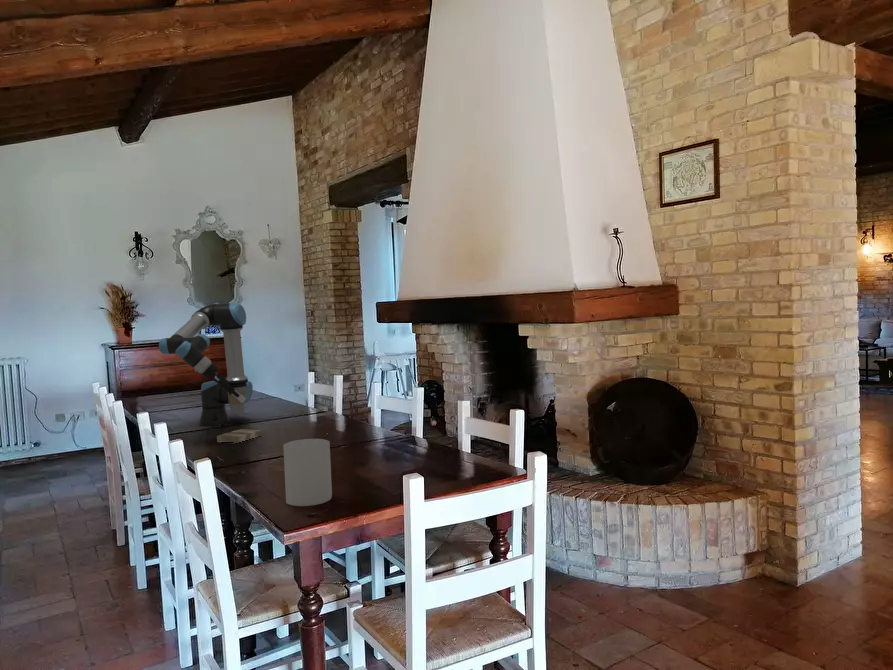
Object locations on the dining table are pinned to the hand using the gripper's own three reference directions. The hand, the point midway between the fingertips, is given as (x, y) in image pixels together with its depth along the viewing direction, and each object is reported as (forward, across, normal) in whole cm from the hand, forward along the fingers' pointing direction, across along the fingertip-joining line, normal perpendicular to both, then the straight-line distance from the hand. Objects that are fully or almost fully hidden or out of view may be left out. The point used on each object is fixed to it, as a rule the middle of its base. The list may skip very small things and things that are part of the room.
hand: (244, 399), depth 304 cm
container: (+26, +110, -1) cm, 113 cm away
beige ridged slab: (+11, 0, -15) cm, 19 cm away
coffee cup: (+2, 0, -7) cm, 7 cm away
